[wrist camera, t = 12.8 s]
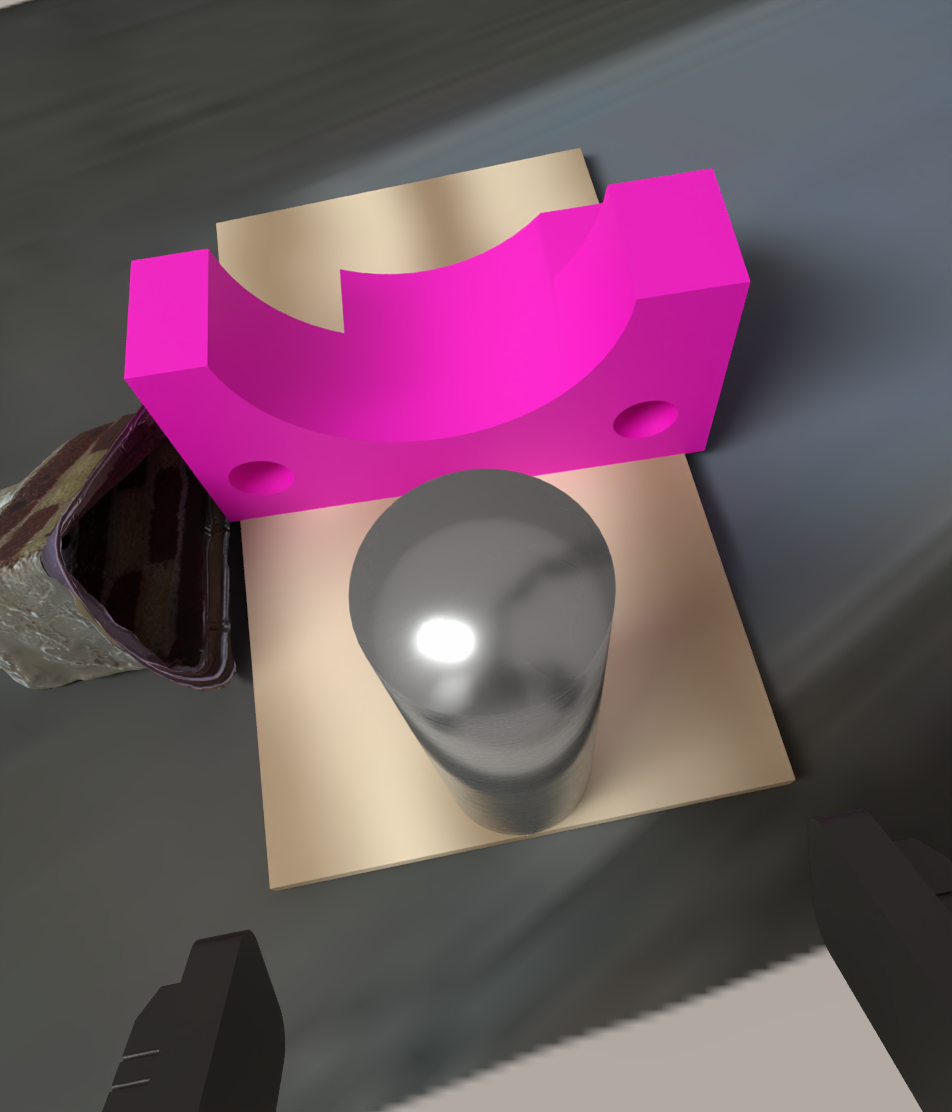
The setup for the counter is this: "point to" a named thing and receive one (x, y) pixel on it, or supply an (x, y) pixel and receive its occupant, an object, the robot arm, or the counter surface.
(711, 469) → the counter surface
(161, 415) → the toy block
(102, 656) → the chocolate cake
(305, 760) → the beige piece
